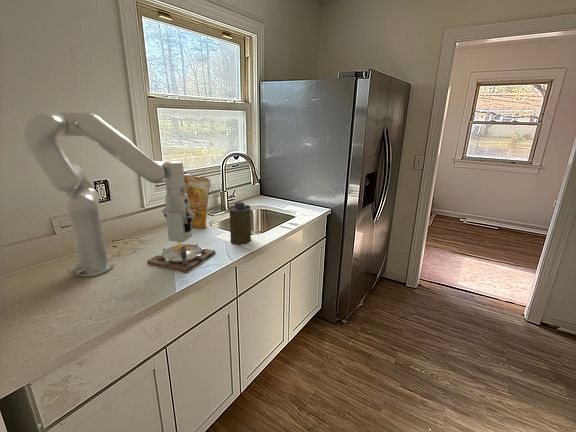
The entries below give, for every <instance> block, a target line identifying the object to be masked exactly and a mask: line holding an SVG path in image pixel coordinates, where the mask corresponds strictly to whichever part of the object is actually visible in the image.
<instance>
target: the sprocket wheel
mask: <svg viewBox="0 0 576 432" xmlns="http://www.w3.org/2000/svg"><path fill="white" fill-rule="evenodd" d="M205 249H206V248H205V247H201V246H199V245H198V243H195V242H193V243H192V244H191V243H190V244H189V243H183V242H181V243H179V244H178V243H177V244H176V245H173V246H172V245H171V246H170V247H167V246H165V247H164V248H163V249H162V251H163V252H161V253H162V254H161V253H158V254H157V255H158V257H159V259H164V260H165V264H170V263H183V264H188V263H187V262H189V261H193V260H195V259H201V258H202V253H203V252H205Z"/></svg>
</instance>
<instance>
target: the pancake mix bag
mask: <svg viewBox="0 0 576 432" xmlns="http://www.w3.org/2000/svg"><path fill="white" fill-rule="evenodd" d="M184 181H185V189H186V190H187V192H186V194H187V195H188V198H189V202H190V207H191V211H192V212H193V213H194V214H195V217H194V218H193V220H192V222H191V228H197V229H207V224H206V222H207V216H208V215H207V214H208V204H209V194H210V187H211V180H210V179H209V178H207V177H201V176H200V177H199V176H194V175H187V174H186V175H185V174H184Z"/></svg>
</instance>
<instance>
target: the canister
mask: <svg viewBox="0 0 576 432" xmlns="http://www.w3.org/2000/svg"><path fill="white" fill-rule="evenodd" d="M251 209H252V208H251V205H248V204H245V203H244V202H243V201H238V202H235V203H234V205H231V206H229V207H228V210H229V225H230V226H229V228H230V232H229V233H230V241H229V242H230V243H231V244H233V245H235V244H237V245H236V246H242V245H241V244H245V245H248V244H250V243H251V242H252V236H251V235H252V232H251V231H252V230H251V229H252V228H251V227H252V225H251V222H252V221H251ZM249 242H250V243H249ZM247 243H248V244H247Z"/></svg>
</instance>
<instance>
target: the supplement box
mask: <svg viewBox="0 0 576 432" xmlns="http://www.w3.org/2000/svg"><path fill="white" fill-rule="evenodd" d="M187 214H188V213H187V212H186V215H185V216H187ZM189 217H190V216H189ZM166 218H167V220H166V227H167V237H168V238H167V239H168V241H169V242H174V243H175V242H176V243H178V242H181V243H185V242H186V241H187V240H189V239H190V238H192V237H193V233H192V230H191V231H189V232H187V233H186V232H185V227H184V224H185V222H184V218H183V215H182V214H178V213H172V212H168V213H166V217H165V219H166ZM186 219H187V218H186ZM187 220H188V219H187ZM190 224H191V222H190Z"/></svg>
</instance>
